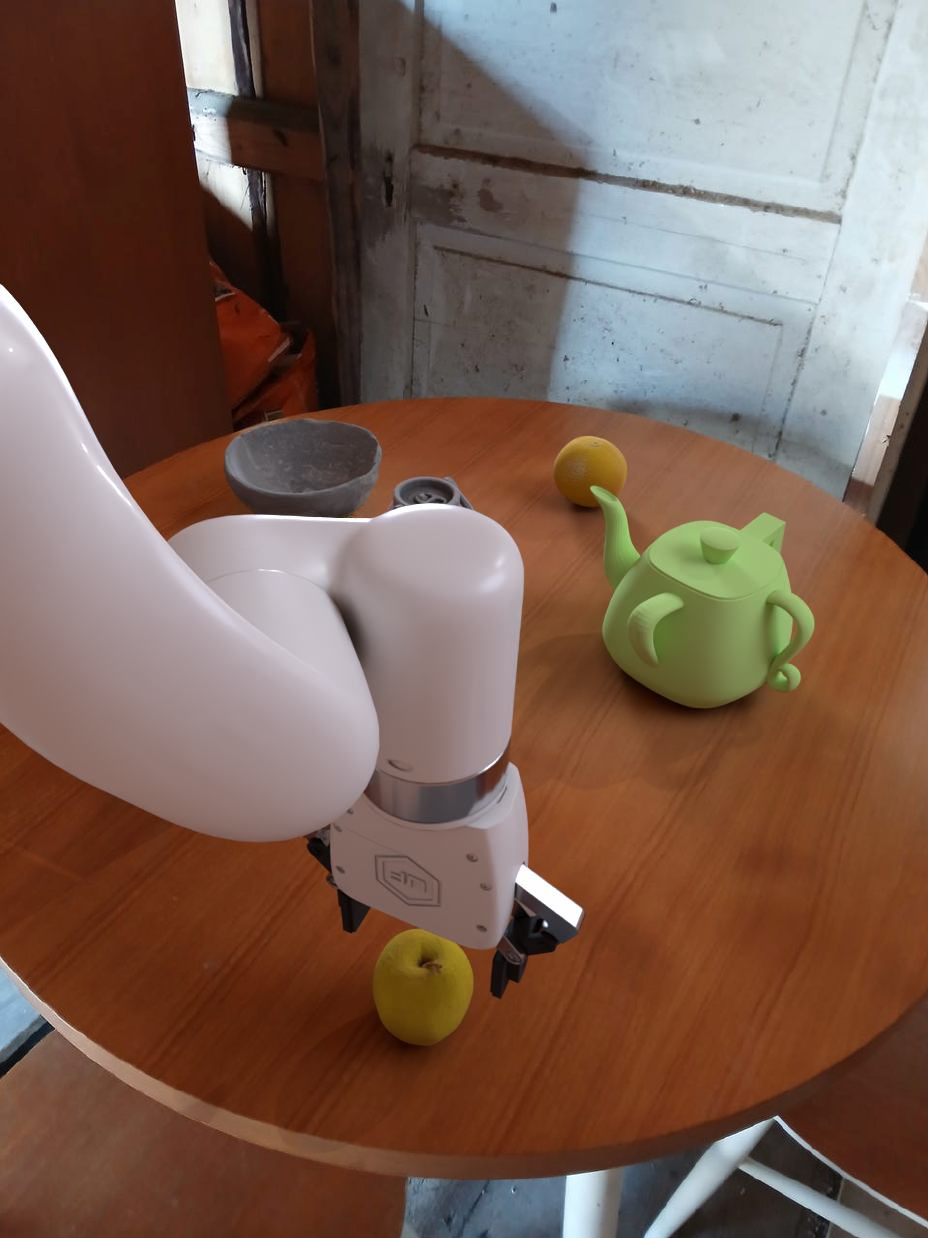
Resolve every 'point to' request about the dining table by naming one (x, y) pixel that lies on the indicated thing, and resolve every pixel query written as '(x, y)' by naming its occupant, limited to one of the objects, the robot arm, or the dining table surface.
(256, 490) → the bowl
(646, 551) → the teapot
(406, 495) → the beverage can
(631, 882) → the dining table surface
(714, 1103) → the dining table surface
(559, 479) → the fruit
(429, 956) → the apple
